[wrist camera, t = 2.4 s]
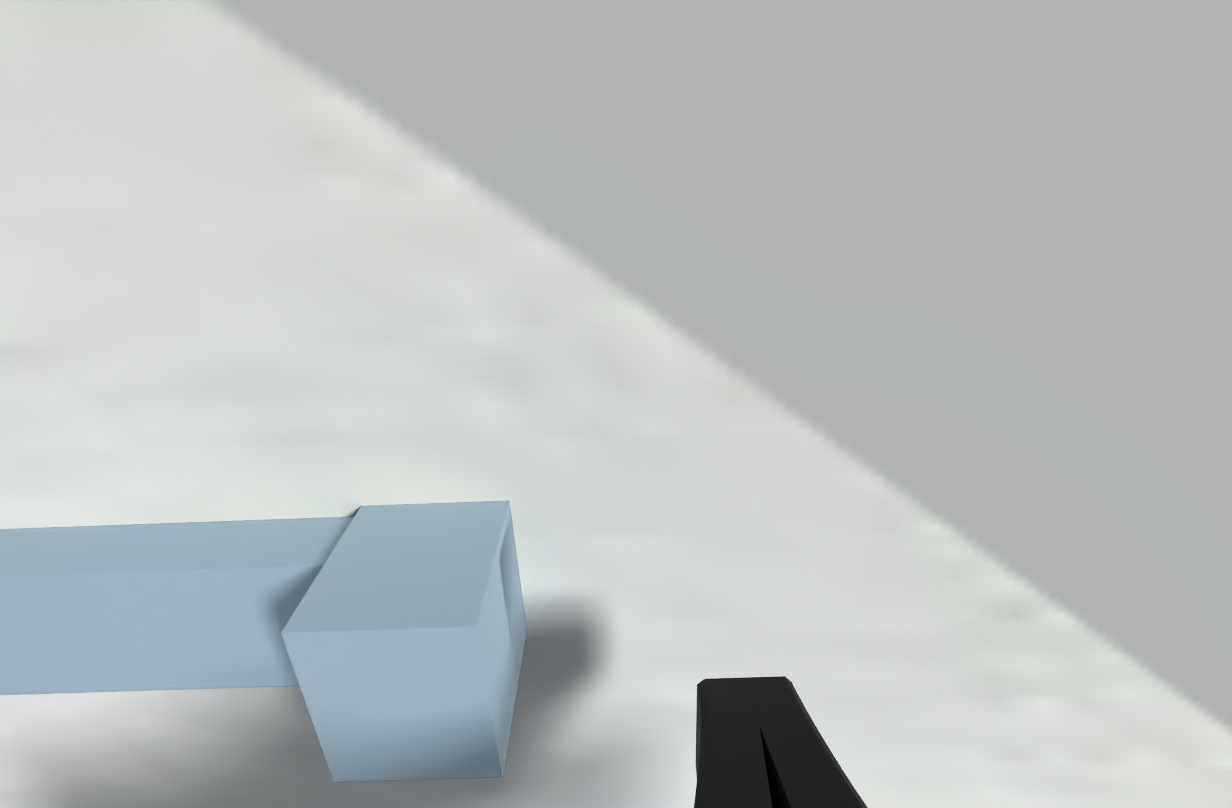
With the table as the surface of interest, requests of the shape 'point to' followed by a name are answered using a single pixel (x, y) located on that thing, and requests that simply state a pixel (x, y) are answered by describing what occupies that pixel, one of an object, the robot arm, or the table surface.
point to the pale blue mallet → (290, 624)
